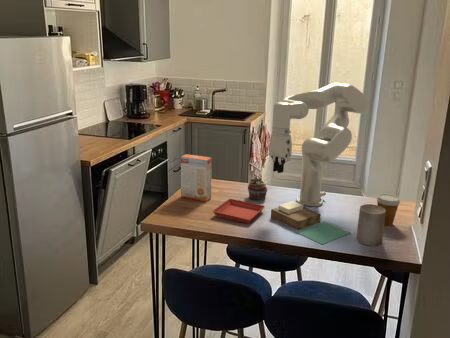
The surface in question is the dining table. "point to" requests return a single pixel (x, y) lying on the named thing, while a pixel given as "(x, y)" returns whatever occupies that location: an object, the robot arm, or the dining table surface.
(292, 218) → the brown flat block
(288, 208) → the beige flat block
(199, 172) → the cracker box
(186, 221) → the dining table surface
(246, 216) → the plant saucer
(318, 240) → the mat
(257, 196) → the cupcake
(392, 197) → the disposable coffee cup
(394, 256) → the dining table surface
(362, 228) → the pillar candle
